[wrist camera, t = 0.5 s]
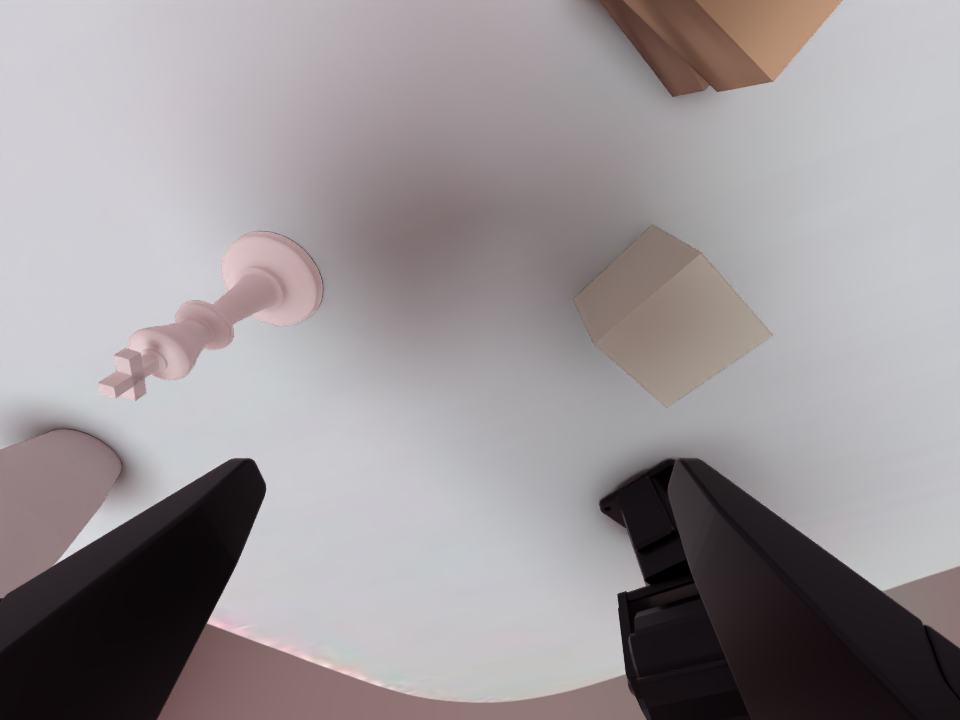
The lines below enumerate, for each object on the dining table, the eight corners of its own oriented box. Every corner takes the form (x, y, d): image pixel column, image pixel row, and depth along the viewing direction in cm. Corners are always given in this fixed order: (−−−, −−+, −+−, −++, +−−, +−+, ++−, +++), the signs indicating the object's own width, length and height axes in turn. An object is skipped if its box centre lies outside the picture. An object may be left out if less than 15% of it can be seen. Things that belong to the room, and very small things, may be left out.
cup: (0, 401, 25) (-261, 541, 16) (129, 425, 25) (-56, 572, 17) (45, 482, 29) (-144, 628, 20) (155, 500, 30) (17, 649, 21)
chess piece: (227, 304, 21) (35, 425, 12) (228, 216, 18) (-12, 289, 10) (317, 333, 21) (196, 467, 13) (329, 252, 19) (190, 349, 10)
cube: (711, 290, 19) (773, 335, 15) (632, 353, 21) (666, 407, 17) (651, 224, 18) (701, 252, 13) (572, 298, 20) (593, 344, 15)
